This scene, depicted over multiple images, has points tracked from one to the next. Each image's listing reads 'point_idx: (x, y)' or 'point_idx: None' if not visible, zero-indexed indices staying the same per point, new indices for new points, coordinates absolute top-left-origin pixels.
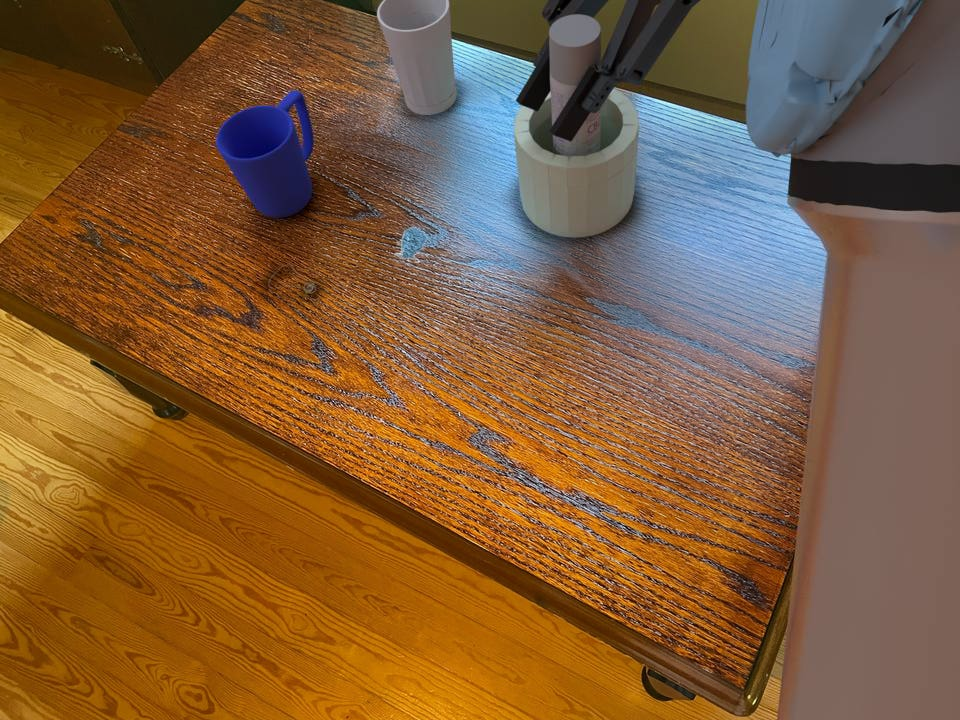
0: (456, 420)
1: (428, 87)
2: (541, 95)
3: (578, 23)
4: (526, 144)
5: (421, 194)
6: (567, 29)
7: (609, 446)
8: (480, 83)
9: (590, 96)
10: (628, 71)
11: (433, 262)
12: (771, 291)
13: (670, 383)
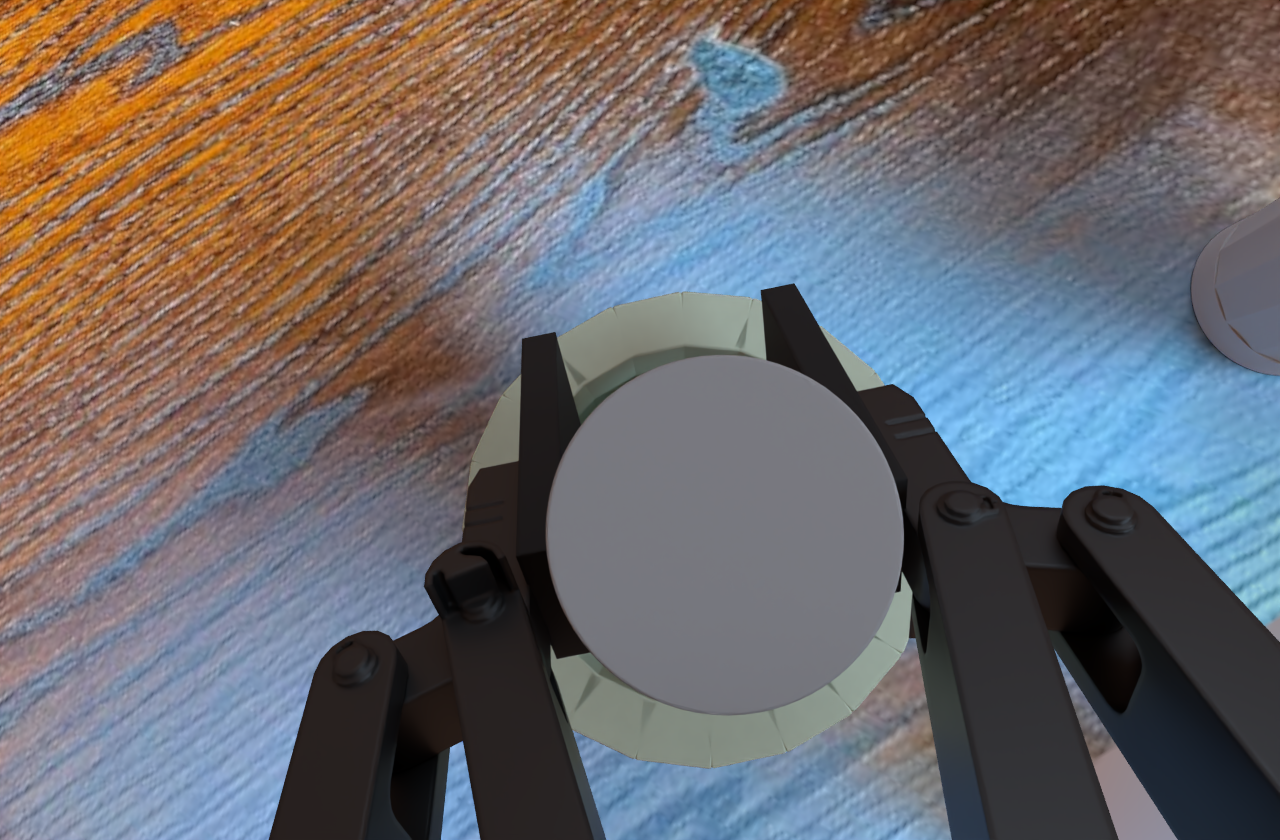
0: (223, 13)
1: (1270, 240)
2: None
3: (781, 585)
4: (677, 314)
5: (887, 144)
6: (756, 488)
7: (13, 269)
8: (1273, 456)
9: (495, 504)
10: (312, 689)
11: (648, 100)
12: (162, 810)
13: (73, 455)
